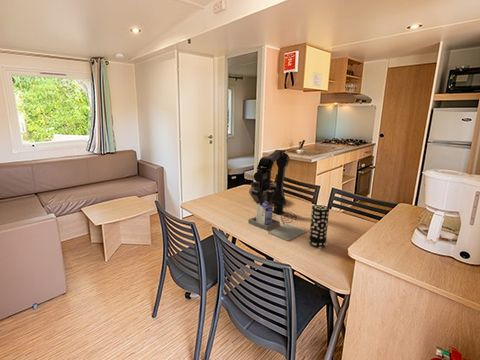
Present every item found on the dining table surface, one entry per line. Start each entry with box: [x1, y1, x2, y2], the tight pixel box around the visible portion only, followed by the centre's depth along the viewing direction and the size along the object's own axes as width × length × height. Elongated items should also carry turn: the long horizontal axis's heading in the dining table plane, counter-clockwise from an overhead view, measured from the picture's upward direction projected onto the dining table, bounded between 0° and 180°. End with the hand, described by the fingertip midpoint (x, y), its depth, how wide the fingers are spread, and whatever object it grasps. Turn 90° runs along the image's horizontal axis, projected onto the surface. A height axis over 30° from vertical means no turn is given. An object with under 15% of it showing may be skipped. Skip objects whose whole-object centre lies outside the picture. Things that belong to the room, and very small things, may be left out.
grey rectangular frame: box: [247, 216, 281, 231], centre depth 163 cm, size 12×15×2 cm
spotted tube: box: [308, 204, 330, 249], centre depth 137 cm, size 8×8×20 cm
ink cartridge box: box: [255, 201, 274, 226], centre depth 162 cm, size 10×6×14 cm, turn 28°
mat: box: [267, 223, 308, 242], centre depth 152 cm, size 18×14×1 cm
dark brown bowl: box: [248, 181, 276, 204], centre depth 206 cm, size 24×24×16 cm
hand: (264, 204), depth 160 cm, fingers open, 6 cm apart
